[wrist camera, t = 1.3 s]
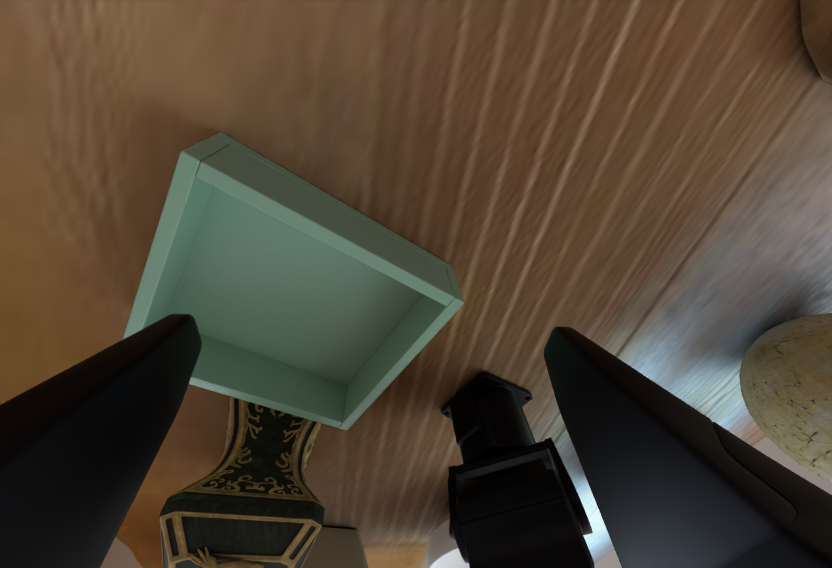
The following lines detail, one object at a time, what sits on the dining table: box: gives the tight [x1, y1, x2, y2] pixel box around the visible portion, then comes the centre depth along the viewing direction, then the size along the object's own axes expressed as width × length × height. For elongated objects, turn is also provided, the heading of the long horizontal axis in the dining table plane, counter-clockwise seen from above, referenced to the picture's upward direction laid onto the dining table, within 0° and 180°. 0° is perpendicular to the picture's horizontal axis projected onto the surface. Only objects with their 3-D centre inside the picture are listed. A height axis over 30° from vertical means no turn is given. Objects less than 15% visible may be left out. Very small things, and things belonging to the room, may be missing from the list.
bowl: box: [426, 512, 470, 568], centre depth 44 cm, size 20×20×6 cm
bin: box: [122, 132, 464, 430], centre depth 22 cm, size 16×15×4 cm
